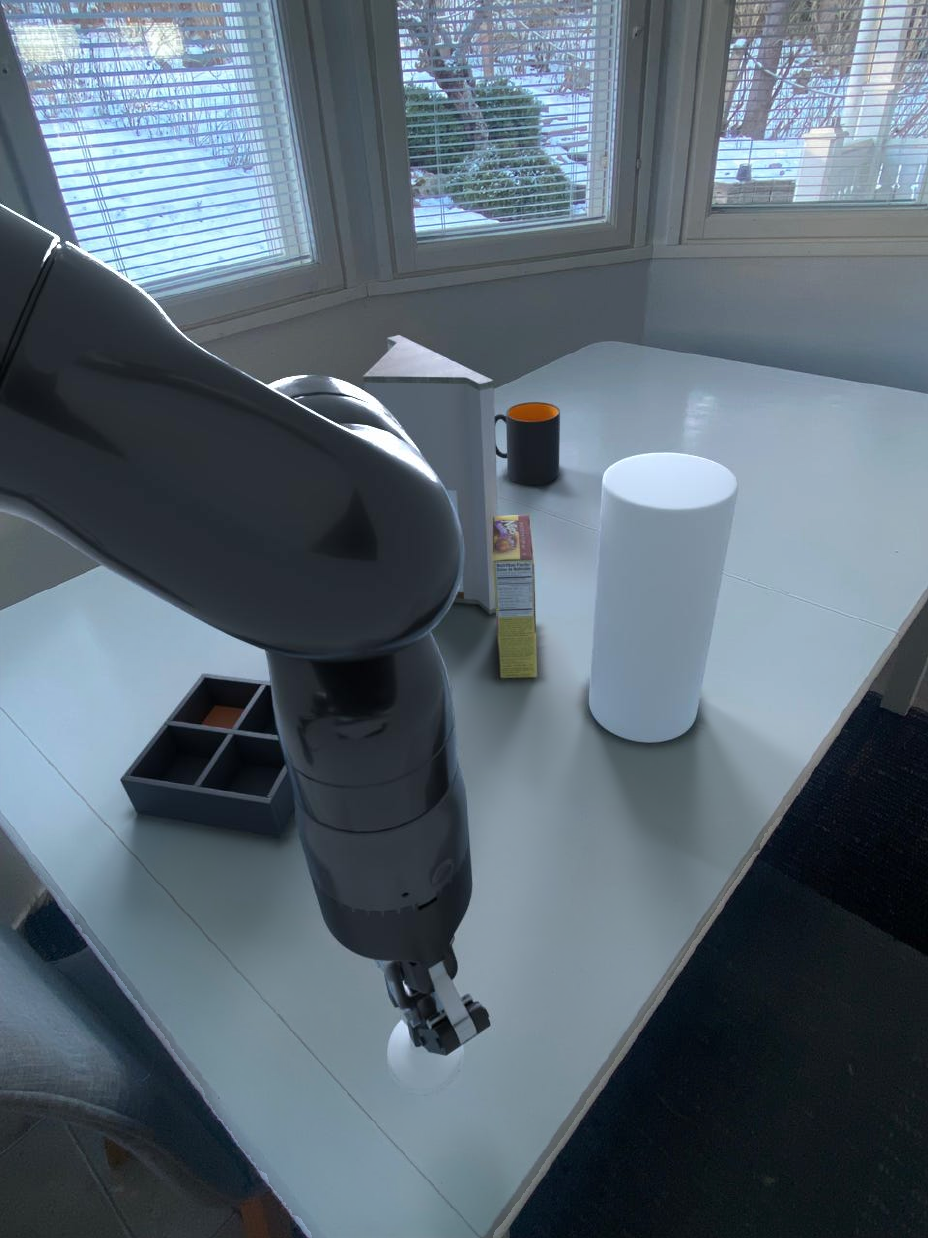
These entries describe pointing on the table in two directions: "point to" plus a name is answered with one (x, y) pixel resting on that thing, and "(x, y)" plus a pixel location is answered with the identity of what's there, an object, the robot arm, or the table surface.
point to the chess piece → (420, 1063)
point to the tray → (216, 761)
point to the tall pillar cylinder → (657, 590)
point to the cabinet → (449, 444)
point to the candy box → (515, 596)
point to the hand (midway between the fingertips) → (418, 1014)
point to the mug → (532, 442)
